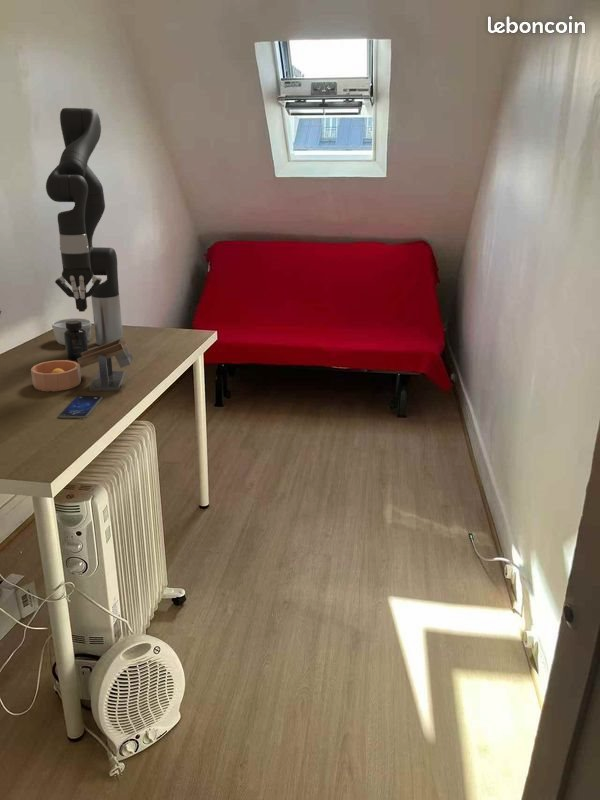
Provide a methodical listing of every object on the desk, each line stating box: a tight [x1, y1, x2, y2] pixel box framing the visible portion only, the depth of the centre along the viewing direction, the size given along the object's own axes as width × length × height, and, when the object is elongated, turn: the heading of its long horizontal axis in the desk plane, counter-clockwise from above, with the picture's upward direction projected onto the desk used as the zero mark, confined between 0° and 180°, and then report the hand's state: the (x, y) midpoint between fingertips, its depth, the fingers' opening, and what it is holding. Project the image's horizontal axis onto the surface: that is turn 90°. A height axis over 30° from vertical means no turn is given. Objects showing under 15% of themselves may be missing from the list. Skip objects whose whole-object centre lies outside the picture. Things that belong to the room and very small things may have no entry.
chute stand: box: [88, 355, 125, 392], centre depth 173 cm, size 14×8×10 cm, turn 9°
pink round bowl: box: [30, 359, 82, 392], centre depth 172 cm, size 13×13×5 cm
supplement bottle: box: [64, 321, 89, 361], centre depth 194 cm, size 7×7×12 cm
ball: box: [51, 368, 65, 373], centre depth 172 cm, size 4×4×4 cm
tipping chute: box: [76, 337, 134, 369], centre depth 176 cm, size 15×13×7 cm
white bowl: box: [51, 317, 92, 346], centre depth 213 cm, size 13×13×7 cm
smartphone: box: [57, 394, 104, 420], centre depth 157 cm, size 7×1×15 cm
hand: (82, 310), depth 174 cm, fingers closed
